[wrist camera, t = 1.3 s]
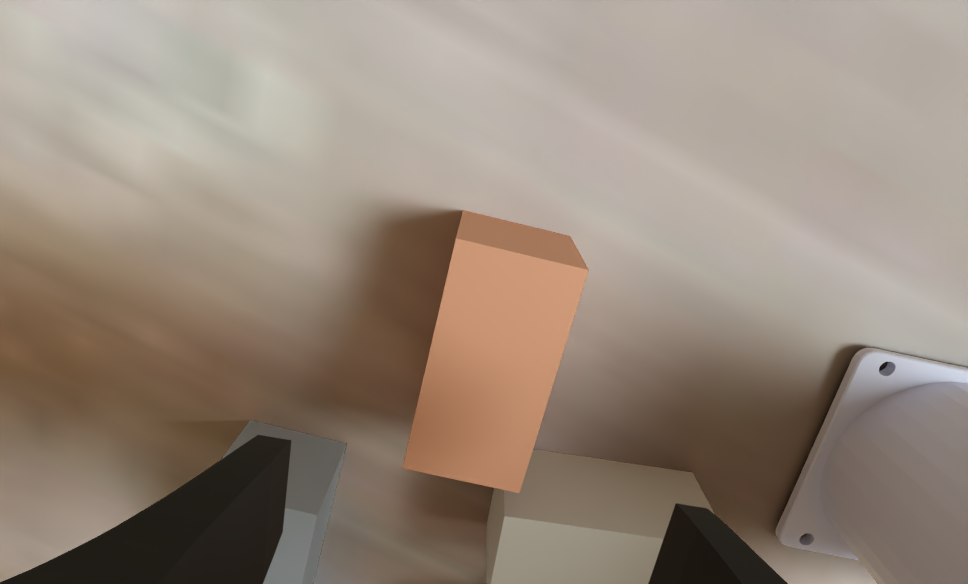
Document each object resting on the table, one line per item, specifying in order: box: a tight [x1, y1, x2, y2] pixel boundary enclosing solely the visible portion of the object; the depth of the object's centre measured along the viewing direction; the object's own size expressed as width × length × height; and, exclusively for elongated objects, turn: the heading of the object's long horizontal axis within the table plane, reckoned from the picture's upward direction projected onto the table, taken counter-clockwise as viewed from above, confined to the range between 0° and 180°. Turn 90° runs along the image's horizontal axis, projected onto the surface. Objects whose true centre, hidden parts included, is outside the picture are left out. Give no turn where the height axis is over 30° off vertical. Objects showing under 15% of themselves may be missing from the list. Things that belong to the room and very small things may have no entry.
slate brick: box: [222, 420, 347, 584], centre depth 21 cm, size 4×7×4 cm, turn 164°
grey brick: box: [486, 449, 715, 584], centre depth 20 cm, size 4×7×4 cm, turn 81°
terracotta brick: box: [402, 210, 589, 493], centre depth 18 cm, size 4×7×4 cm, turn 166°
